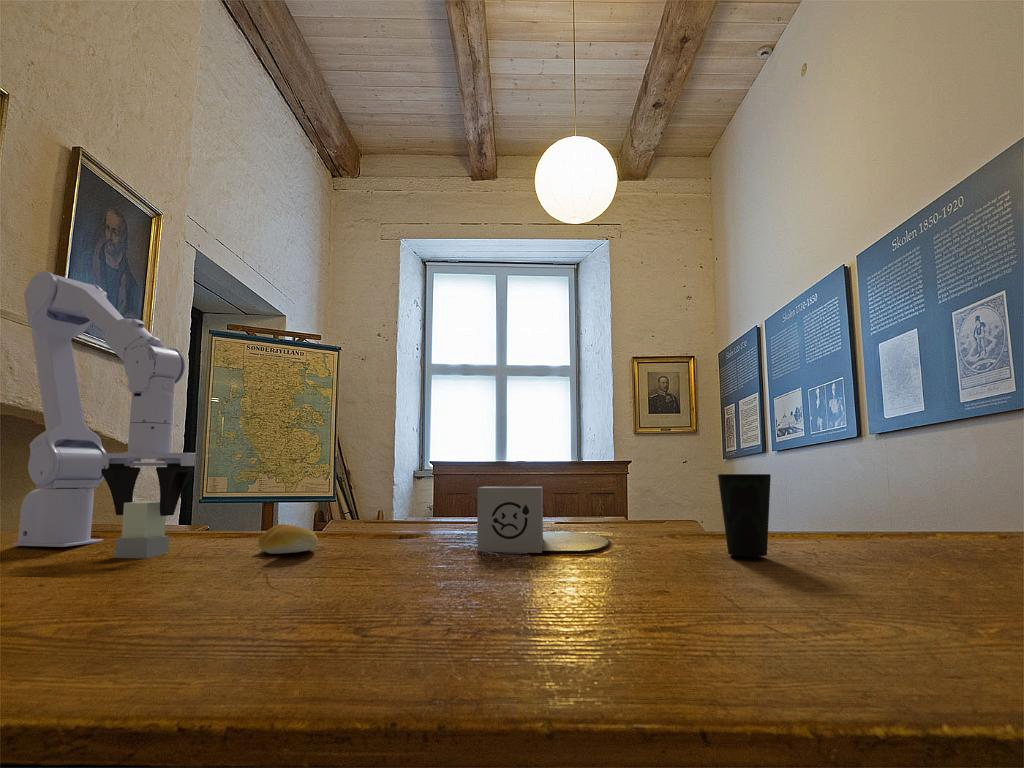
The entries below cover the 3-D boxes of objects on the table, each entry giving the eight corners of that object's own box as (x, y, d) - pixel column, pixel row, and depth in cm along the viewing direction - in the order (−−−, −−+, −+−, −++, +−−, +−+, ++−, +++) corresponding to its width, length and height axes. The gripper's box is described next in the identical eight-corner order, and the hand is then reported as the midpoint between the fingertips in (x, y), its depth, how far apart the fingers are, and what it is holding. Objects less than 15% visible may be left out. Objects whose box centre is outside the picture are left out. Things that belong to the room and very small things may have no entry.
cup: (773, 552, 105) (769, 474, 107) (775, 558, 98) (771, 474, 100) (721, 550, 108) (718, 474, 109) (719, 556, 100) (716, 474, 102)
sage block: (121, 537, 100) (124, 502, 100) (141, 534, 103) (144, 501, 104) (145, 537, 99) (147, 502, 99) (164, 535, 103) (166, 501, 103)
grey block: (114, 559, 98) (115, 537, 99) (137, 555, 103) (138, 534, 104) (146, 560, 98) (147, 538, 98) (168, 556, 103) (169, 535, 103)
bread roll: (273, 555, 97) (272, 527, 98) (252, 552, 104) (252, 526, 105) (327, 549, 102) (327, 522, 103) (304, 546, 109) (304, 521, 110)
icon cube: (542, 546, 115) (542, 486, 116) (541, 553, 105) (541, 487, 106) (484, 546, 115) (484, 486, 117) (477, 553, 105) (477, 487, 107)
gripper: (89, 423, 101) (81, 516, 99) (174, 421, 98) (168, 517, 96) (125, 426, 108) (118, 513, 106) (206, 424, 105) (201, 514, 103)
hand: (144, 515), depth 101 cm, fingers open, 7 cm apart
